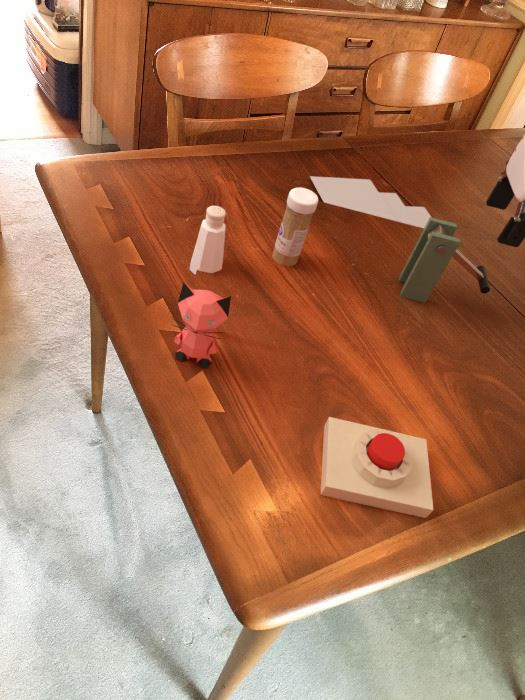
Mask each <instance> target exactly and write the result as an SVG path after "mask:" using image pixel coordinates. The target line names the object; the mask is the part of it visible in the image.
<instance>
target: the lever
mask: <svg viewBox="0 0 525 700" xmlns="http://www.w3.org/2000/svg"><path fill="white" fill-rule="evenodd" d="M432 232H435V233H439V234H443V235H447V236H451V235H450V234H449V233H448V232H447V231H446V230H445V229H444V228H443V227H441V226H440V225H439V226H438V227H437V228H435V229H434V230H432V231H431V232H430V233H428V234H427V235H428V239H429V237H430V235H431V233H432ZM452 258H453V259H454V260H455V261H456V262H457V263H458V264H460V266H462V268H463V269H465V270H466V271H467V272H468V273H469V274H470V275H471V276H472V277H473V278H474V279H475V280H476V281H477V282H478V283H477V284H478V287H479V291H480V293H481V294H488V293H489V292H490V291H491V287H490V283H489V279H488V275H487V271H486V267H485V266H484V265H478V266H475V265H474V264H473V263H472V262H471V261H470V260H469V259H468V258H467V257H466V256H465V255H464V254H462V253H461V252H460V250H458V249H457V250H456V251H455V253H454V255H453V256H452Z"/></svg>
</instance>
